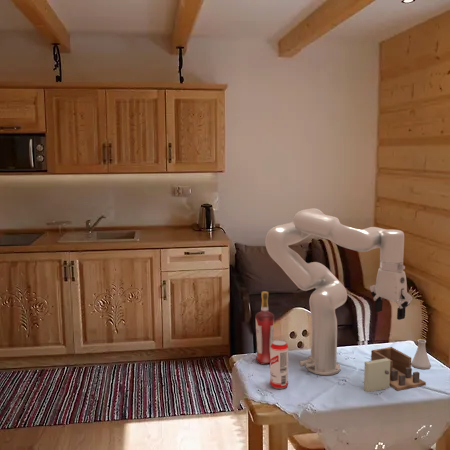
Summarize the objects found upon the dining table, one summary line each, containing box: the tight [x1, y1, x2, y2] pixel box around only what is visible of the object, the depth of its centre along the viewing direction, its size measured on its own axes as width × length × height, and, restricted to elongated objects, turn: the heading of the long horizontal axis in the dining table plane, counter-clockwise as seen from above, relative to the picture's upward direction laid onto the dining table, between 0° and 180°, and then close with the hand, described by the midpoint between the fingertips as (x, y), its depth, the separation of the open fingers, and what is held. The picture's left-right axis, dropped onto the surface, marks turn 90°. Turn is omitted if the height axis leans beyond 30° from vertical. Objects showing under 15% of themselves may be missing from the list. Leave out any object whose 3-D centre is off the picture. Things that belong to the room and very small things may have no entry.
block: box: [363, 358, 390, 393], centre depth 175 cm, size 9×3×10 cm, turn 110°
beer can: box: [269, 339, 289, 390], centre depth 178 cm, size 6×6×16 cm
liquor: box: [254, 291, 275, 365], centre depth 198 cm, size 7×7×28 cm
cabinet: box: [370, 346, 427, 392], centre depth 184 cm, size 12×18×8 cm, turn 20°
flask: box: [411, 338, 432, 370], centre depth 194 cm, size 7×7×10 cm
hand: (389, 315), depth 174 cm, fingers open, 9 cm apart
